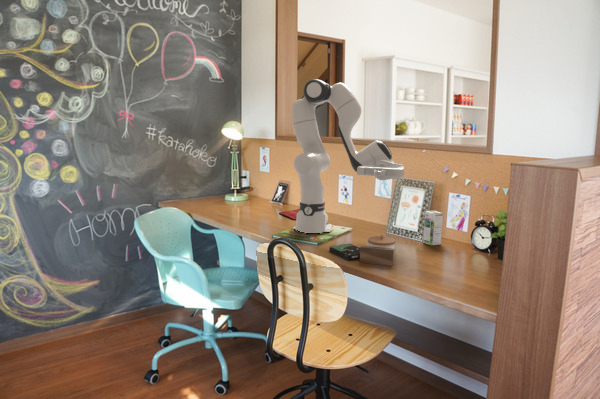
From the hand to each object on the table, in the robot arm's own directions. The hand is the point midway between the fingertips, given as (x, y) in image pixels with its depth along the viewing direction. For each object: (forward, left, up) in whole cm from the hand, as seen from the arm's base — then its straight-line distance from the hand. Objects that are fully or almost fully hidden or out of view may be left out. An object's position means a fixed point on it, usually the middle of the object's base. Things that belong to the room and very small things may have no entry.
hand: (377, 173), depth 196 cm
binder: (-49, -52, -33) cm, 79 cm away
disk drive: (+15, -8, -33) cm, 37 cm away
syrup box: (-15, +23, -32) cm, 42 cm away
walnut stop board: (+23, +5, -32) cm, 40 cm away
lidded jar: (+16, +5, -32) cm, 36 cm away
